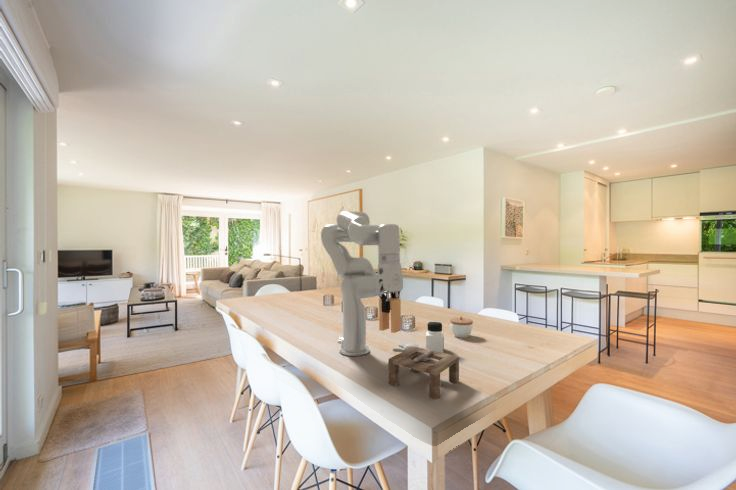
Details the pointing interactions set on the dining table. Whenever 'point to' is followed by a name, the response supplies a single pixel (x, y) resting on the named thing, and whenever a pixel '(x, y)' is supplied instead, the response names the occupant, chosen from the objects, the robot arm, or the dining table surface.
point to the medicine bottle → (435, 337)
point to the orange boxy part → (395, 316)
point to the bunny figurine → (409, 348)
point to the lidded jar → (461, 327)
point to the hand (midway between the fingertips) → (389, 310)
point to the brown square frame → (425, 367)
